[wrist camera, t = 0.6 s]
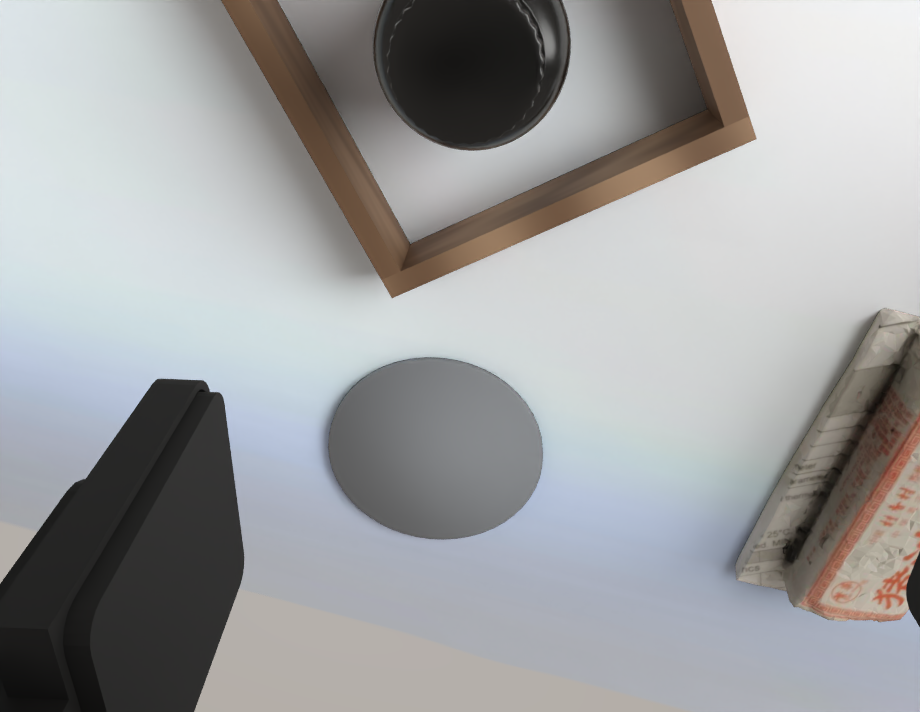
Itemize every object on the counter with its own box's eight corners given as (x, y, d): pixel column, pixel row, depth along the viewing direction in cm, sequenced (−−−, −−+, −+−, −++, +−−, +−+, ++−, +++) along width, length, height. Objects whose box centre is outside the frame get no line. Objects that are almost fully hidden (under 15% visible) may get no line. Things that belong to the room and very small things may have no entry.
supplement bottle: (573, 88, 36) (594, 158, 25) (424, 122, 37) (385, 202, 26) (545, -84, 33) (556, -86, 22) (384, -42, 34) (321, -24, 23)
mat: (485, 324, 42) (485, 328, 41) (575, 495, 46) (576, 501, 46) (290, 405, 45) (288, 409, 44) (393, 557, 50) (392, 563, 49)
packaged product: (916, 344, 36) (1123, 399, 36) (874, 299, 40) (1060, 349, 41) (747, 624, 44) (917, 665, 45) (727, 562, 49) (883, 600, 49)
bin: (591, -313, 29) (599, -341, 26) (736, 120, 36) (756, 139, 33) (209, -76, 34) (177, -76, 31) (402, 269, 40) (392, 298, 37)
